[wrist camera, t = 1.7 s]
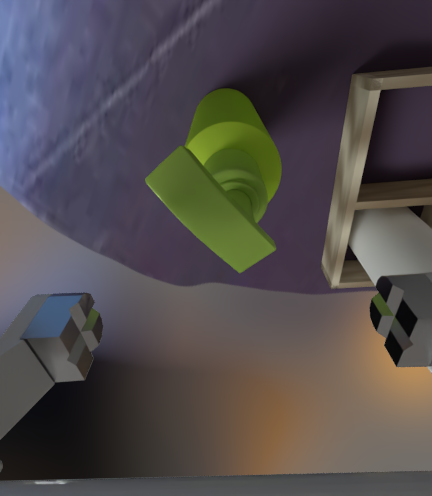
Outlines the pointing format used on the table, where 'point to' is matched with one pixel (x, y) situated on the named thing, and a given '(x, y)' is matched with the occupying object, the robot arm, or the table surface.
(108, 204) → the table surface
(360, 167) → the frame
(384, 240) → the cylindrical container
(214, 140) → the soap dispenser
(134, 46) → the table surface
